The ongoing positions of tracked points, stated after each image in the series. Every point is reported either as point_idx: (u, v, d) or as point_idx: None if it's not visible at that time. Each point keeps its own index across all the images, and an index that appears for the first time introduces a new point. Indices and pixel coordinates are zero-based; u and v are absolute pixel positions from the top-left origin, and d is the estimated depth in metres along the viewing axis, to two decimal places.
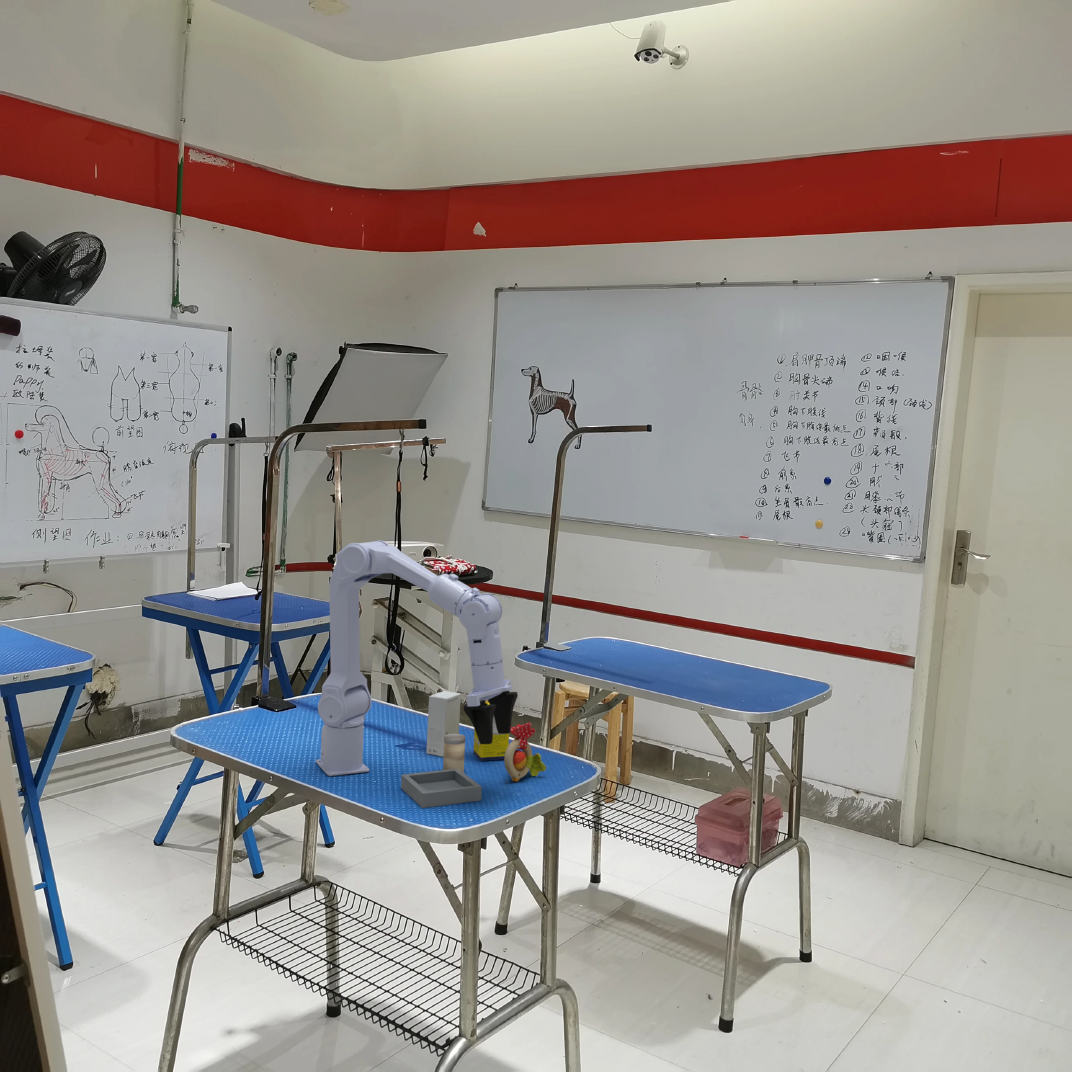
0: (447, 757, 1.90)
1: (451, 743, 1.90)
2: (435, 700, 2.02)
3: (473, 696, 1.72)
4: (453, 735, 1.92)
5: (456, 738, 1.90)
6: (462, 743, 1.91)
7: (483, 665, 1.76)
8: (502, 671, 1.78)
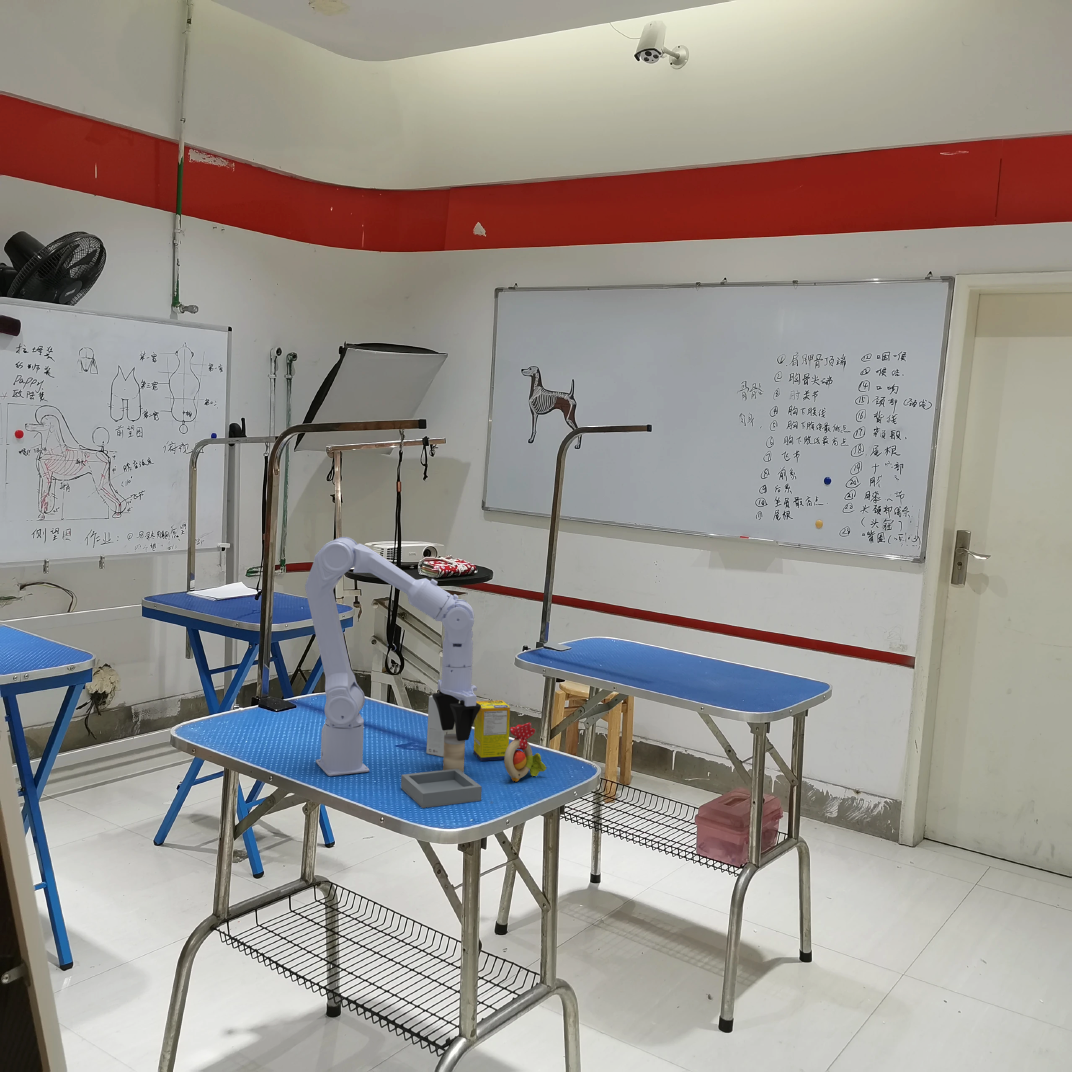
0: (446, 757, 1.90)
1: (451, 743, 1.90)
2: None
3: (473, 696, 1.85)
4: (453, 735, 1.92)
5: (456, 738, 1.90)
6: (462, 743, 1.91)
7: (466, 667, 1.89)
8: None
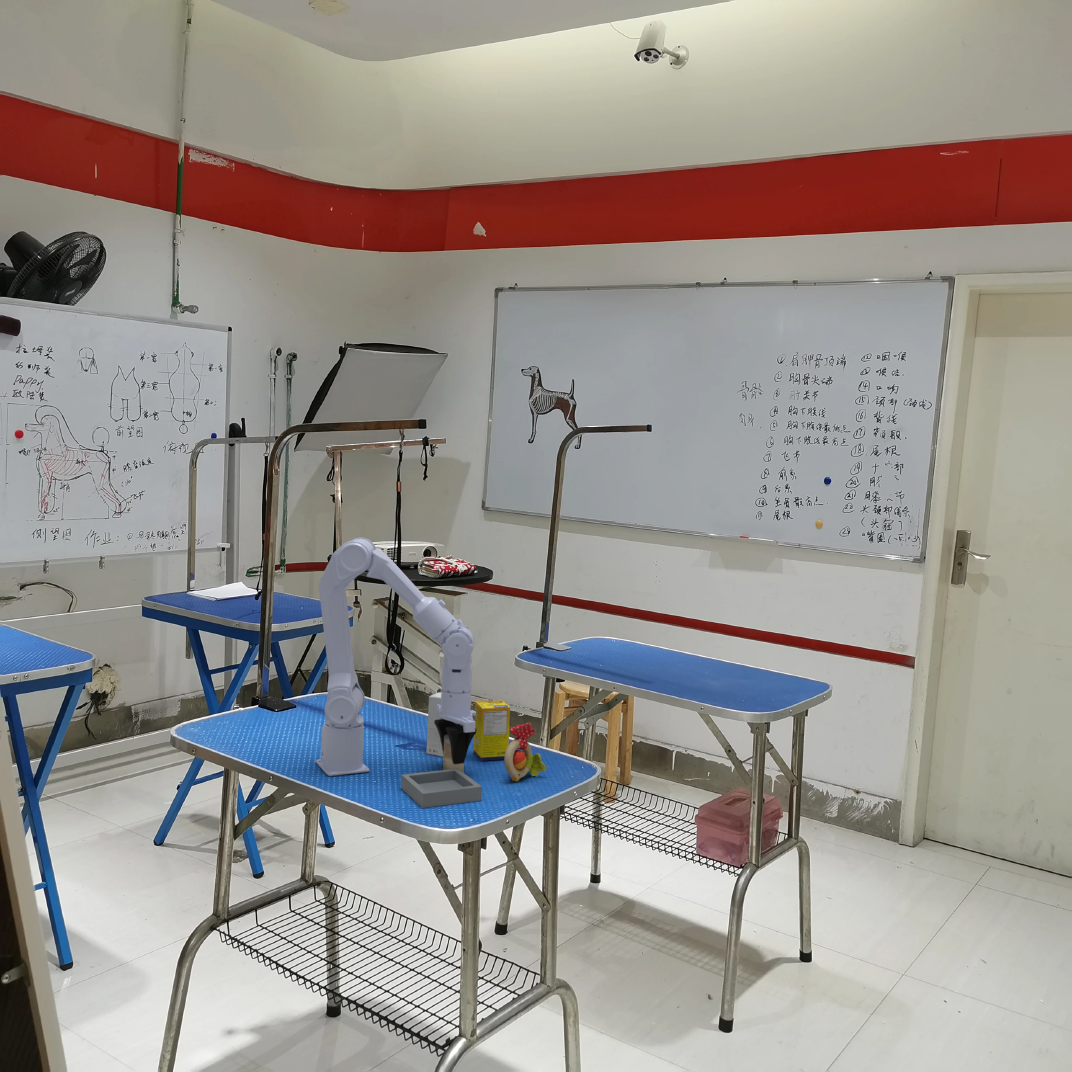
0: (447, 757, 1.90)
1: None
2: (435, 700, 2.02)
3: (472, 723, 1.85)
4: None
5: None
6: None
7: (465, 693, 1.89)
8: None
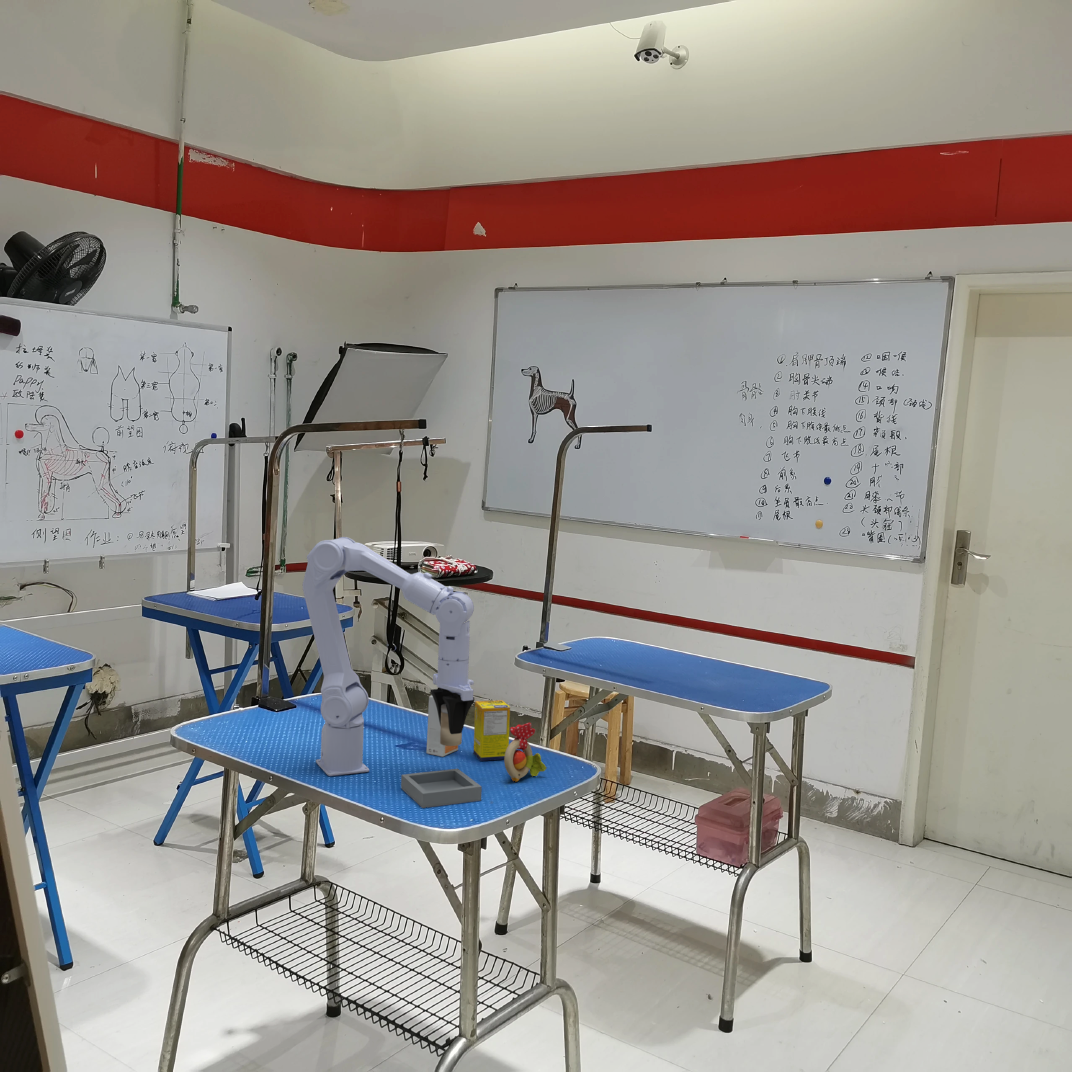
0: (444, 727, 1.85)
1: None
2: None
3: (470, 691, 1.80)
4: None
5: None
6: None
7: (462, 661, 1.84)
8: None
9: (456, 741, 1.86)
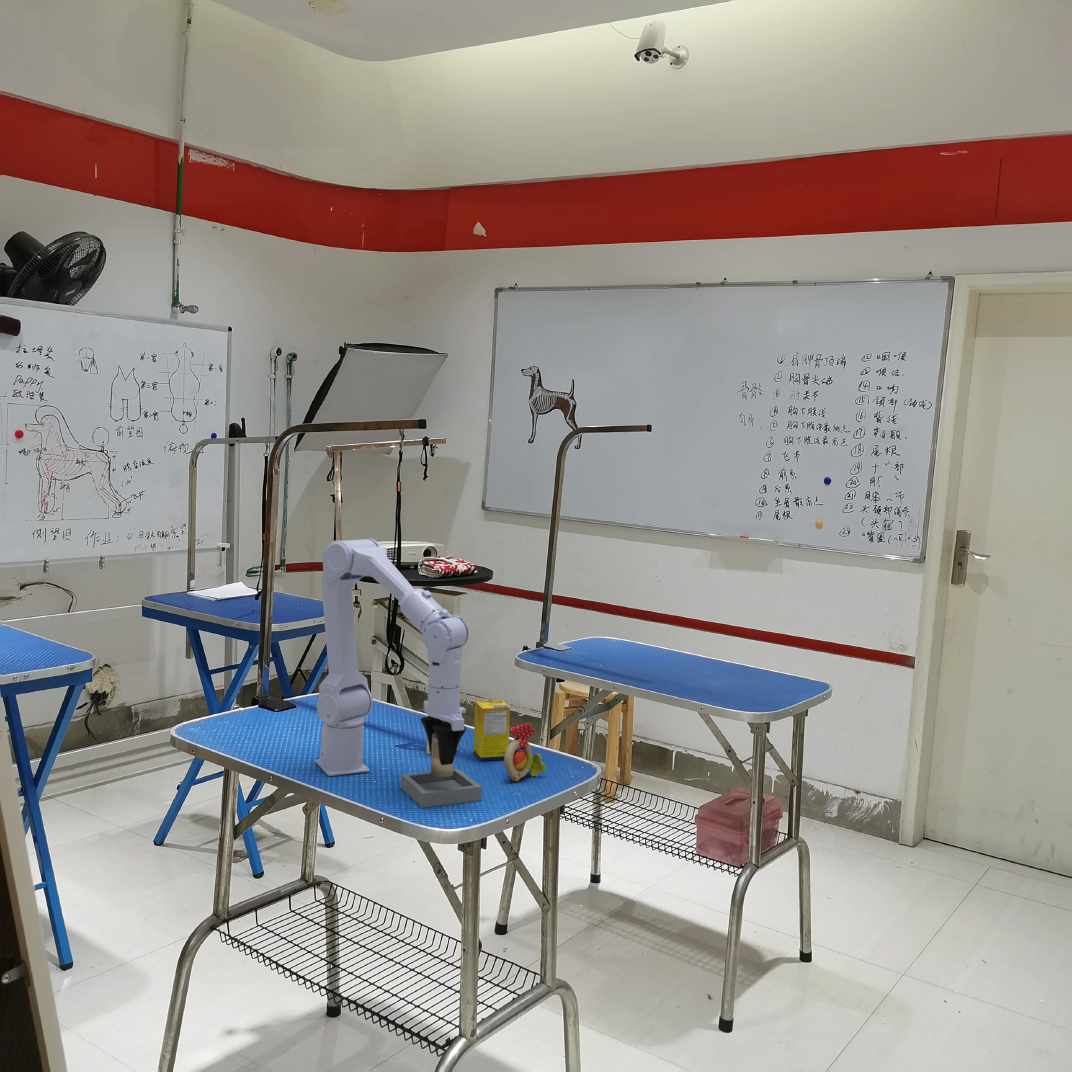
0: (435, 757, 1.77)
1: None
2: None
3: (461, 720, 1.72)
4: None
5: None
6: None
7: (453, 688, 1.76)
8: None
9: (447, 772, 1.77)
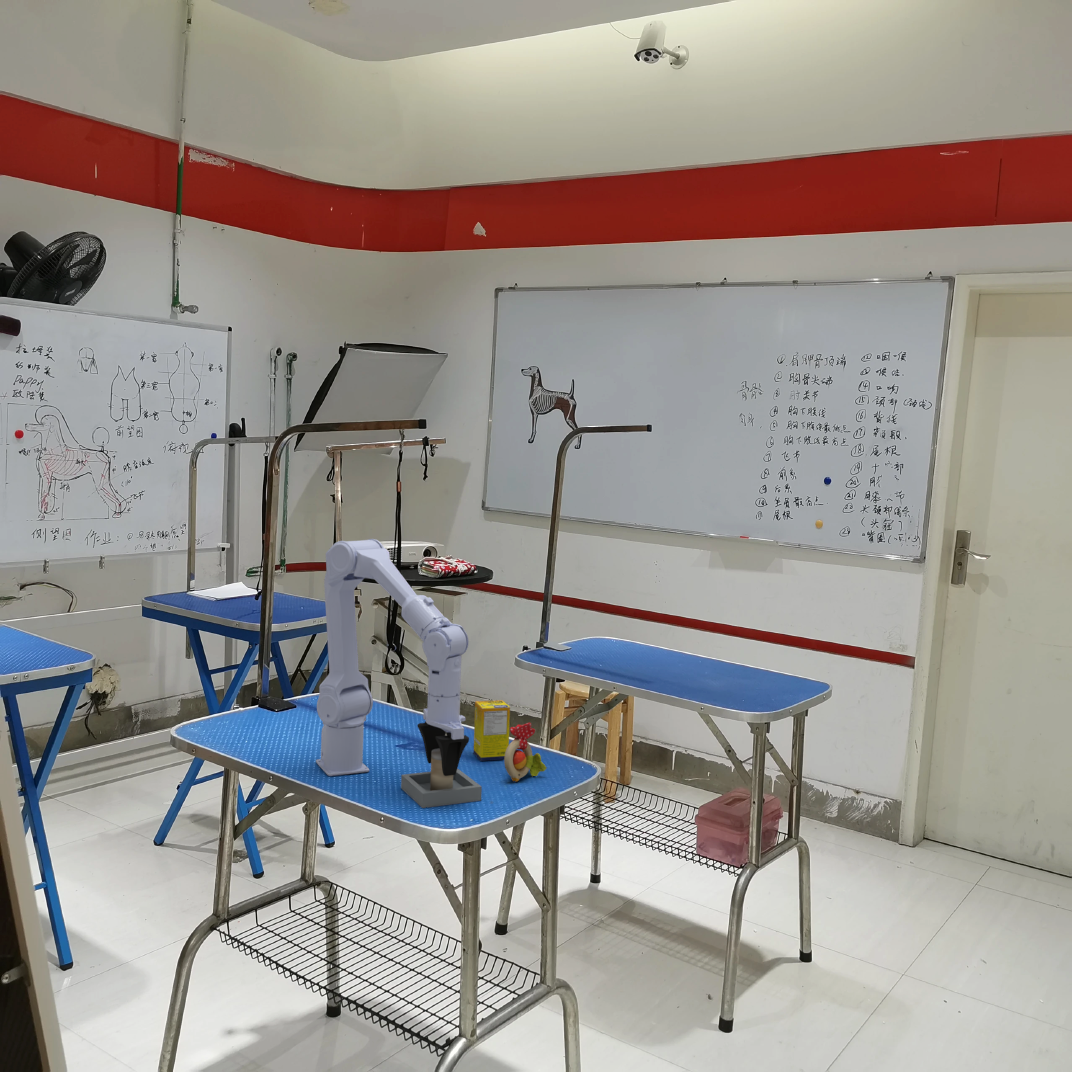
0: (434, 774, 1.77)
1: (439, 759, 1.77)
2: None
3: (460, 729, 1.72)
4: None
5: None
6: None
7: (453, 697, 1.76)
8: None
9: (447, 788, 1.78)
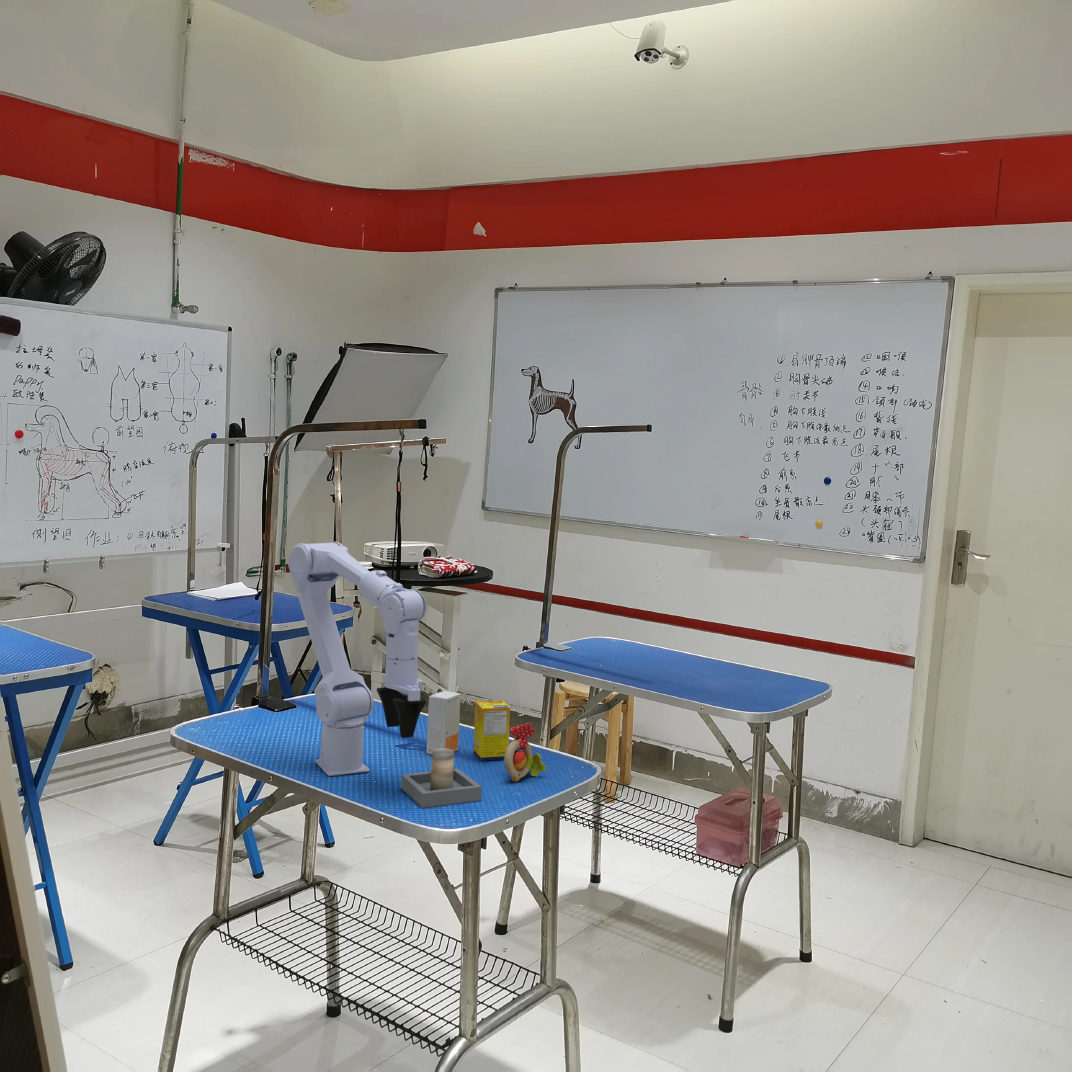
0: (434, 774, 1.77)
1: (439, 759, 1.77)
2: (435, 700, 2.02)
3: (417, 691, 1.74)
4: (441, 750, 1.79)
5: (445, 754, 1.77)
6: (451, 758, 1.78)
7: (410, 660, 1.78)
8: None
9: (447, 788, 1.78)
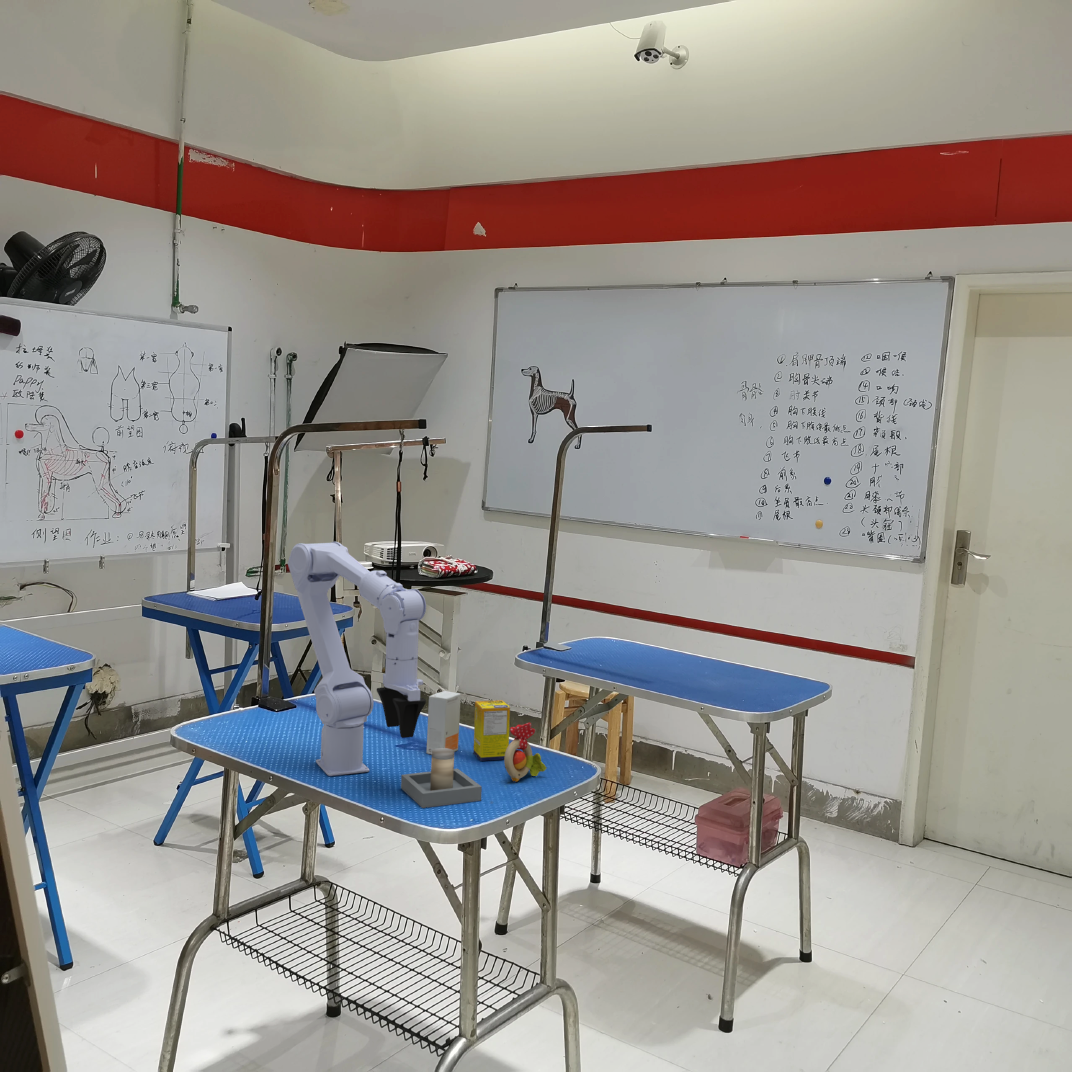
0: (435, 773, 1.77)
1: (440, 758, 1.77)
2: (435, 701, 2.02)
3: (417, 691, 1.74)
4: (441, 750, 1.80)
5: (445, 753, 1.77)
6: (451, 758, 1.78)
7: (410, 660, 1.78)
8: None
9: (447, 788, 1.78)
